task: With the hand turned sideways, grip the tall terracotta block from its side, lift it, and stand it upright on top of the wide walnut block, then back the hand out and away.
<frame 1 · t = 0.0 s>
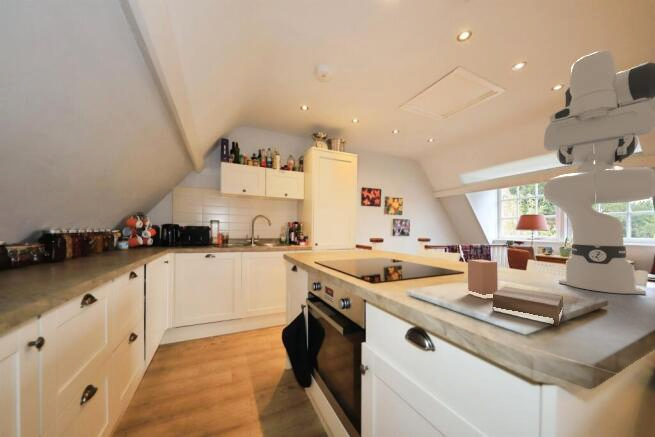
hand: (594, 158, 65), 39 cm above the worktop, fingers open, 8 cm apart
walnut base: (527, 312, 55), on the worktop
terracotta block: (482, 296, 68), on the worktop
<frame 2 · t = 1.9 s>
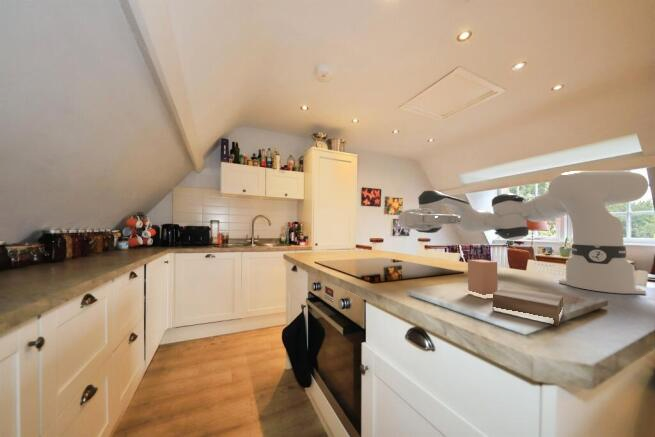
hand: (448, 219, 82), 22 cm above the worktop, fingers open, 8 cm apart
nothing on the worktop moved.
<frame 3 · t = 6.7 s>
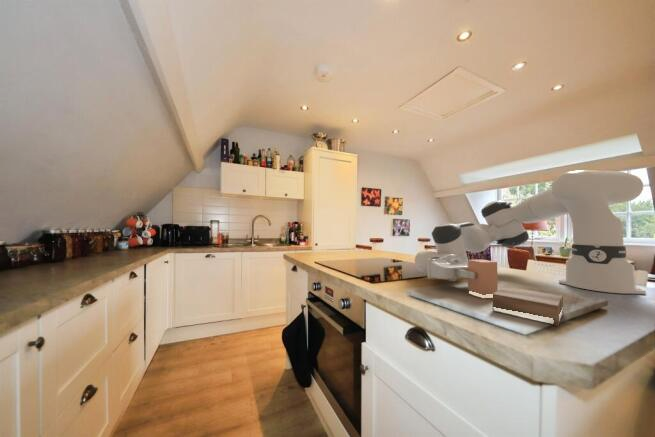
hand: (485, 275, 67), 6 cm above the worktop, fingers closed on terracotta block, 5 cm apart
terracotta block: (482, 296, 68), on the worktop, touching gripper
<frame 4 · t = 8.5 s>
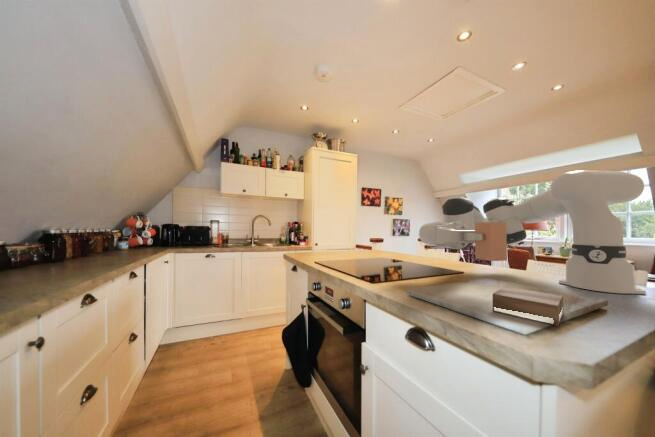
hand: (493, 237, 64), 17 cm above the worktop, fingers closed on terracotta block, 5 cm apart
terracotta block: (490, 259, 65), point 11 cm above the worktop, touching gripper
when the fingers open (11 cm above the worktop, at t = 10.7 s): terracotta block drops 1 cm, resting on walnut base.
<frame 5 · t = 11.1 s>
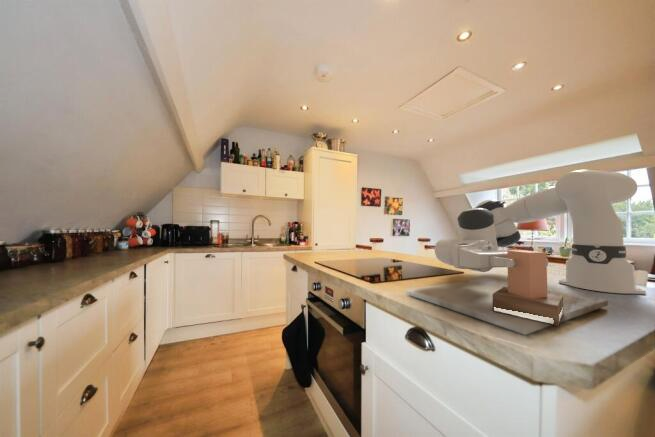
hand: (530, 262, 55), 11 cm above the worktop, fingers open, 8 cm apart
terracotta block: (527, 294, 55), point 4 cm above the worktop, touching walnut base
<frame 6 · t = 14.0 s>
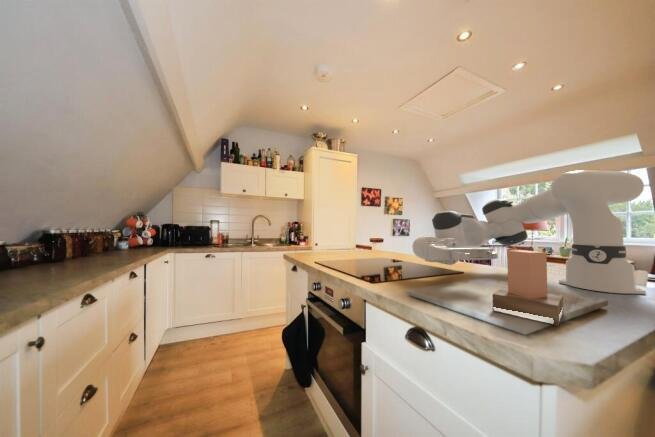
hand: (482, 256, 67), 11 cm above the worktop, fingers open, 8 cm apart
nothing on the worktop moved.
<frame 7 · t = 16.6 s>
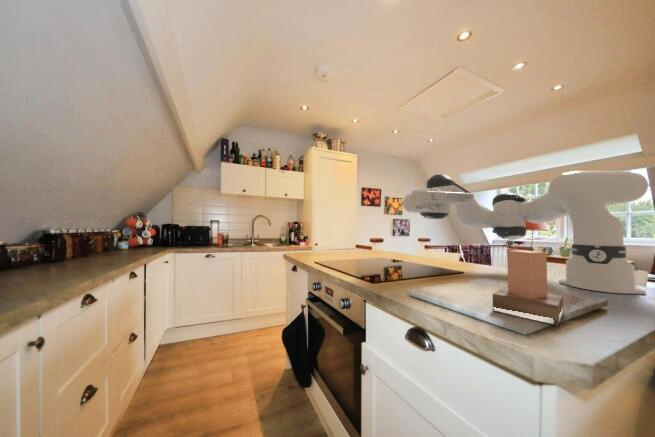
hand: (460, 195, 78), 30 cm above the worktop, fingers open, 8 cm apart
nothing on the worktop moved.
at the end: terracotta block inside the target area on the walnut base (0.0 cm from its centre), point 4.0 cm above the walnut base's base; terracotta block tilted 0°; the gripper is holding nothing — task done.
